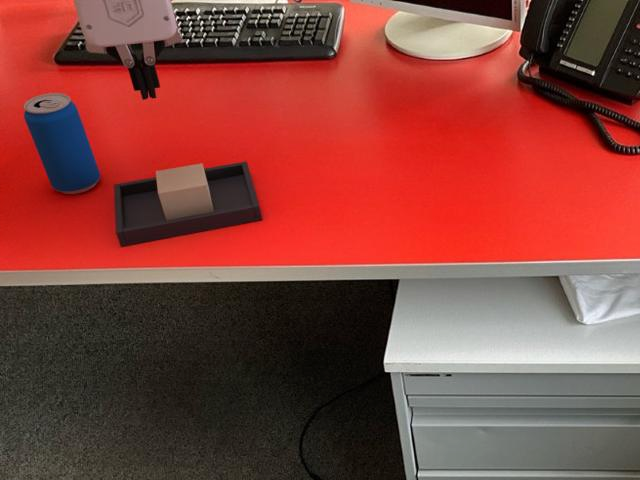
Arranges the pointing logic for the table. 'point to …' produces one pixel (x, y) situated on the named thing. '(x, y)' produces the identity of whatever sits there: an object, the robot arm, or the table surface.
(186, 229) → the tray
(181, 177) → the pad
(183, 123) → the table surface
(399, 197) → the table surface
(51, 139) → the beverage can
